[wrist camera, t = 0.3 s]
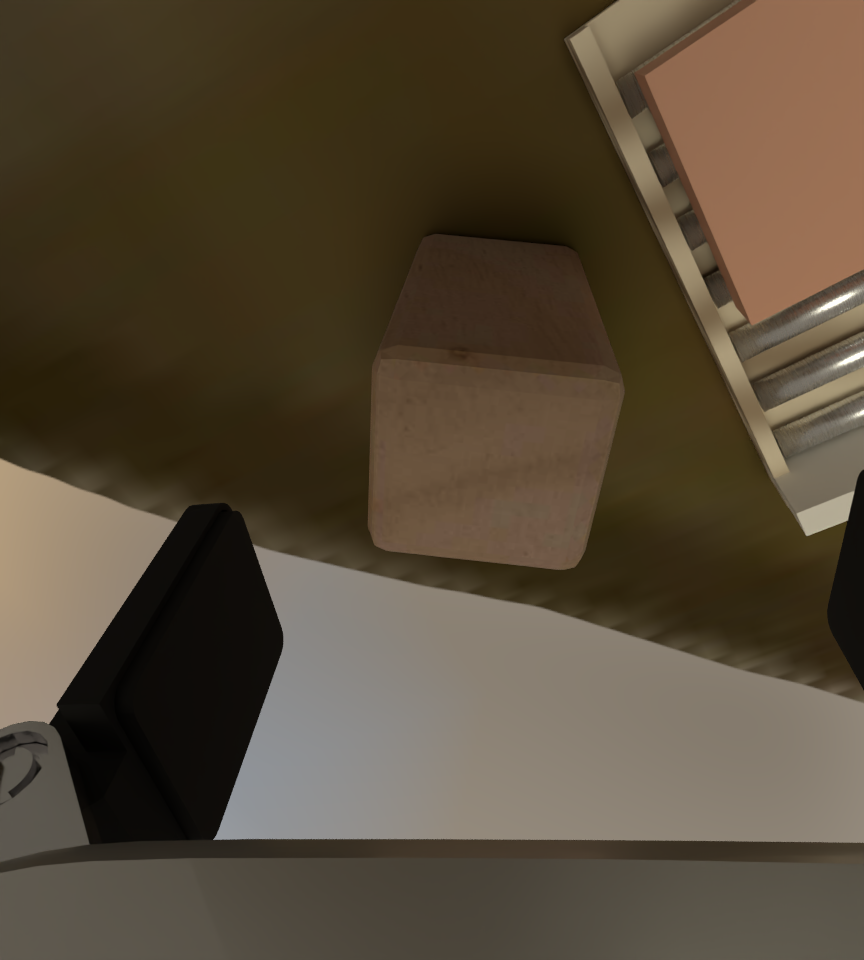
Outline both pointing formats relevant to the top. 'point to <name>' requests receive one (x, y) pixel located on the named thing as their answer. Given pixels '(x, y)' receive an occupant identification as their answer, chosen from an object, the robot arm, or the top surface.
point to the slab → (770, 144)
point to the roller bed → (601, 62)
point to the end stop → (823, 481)
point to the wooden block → (491, 406)
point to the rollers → (777, 318)
